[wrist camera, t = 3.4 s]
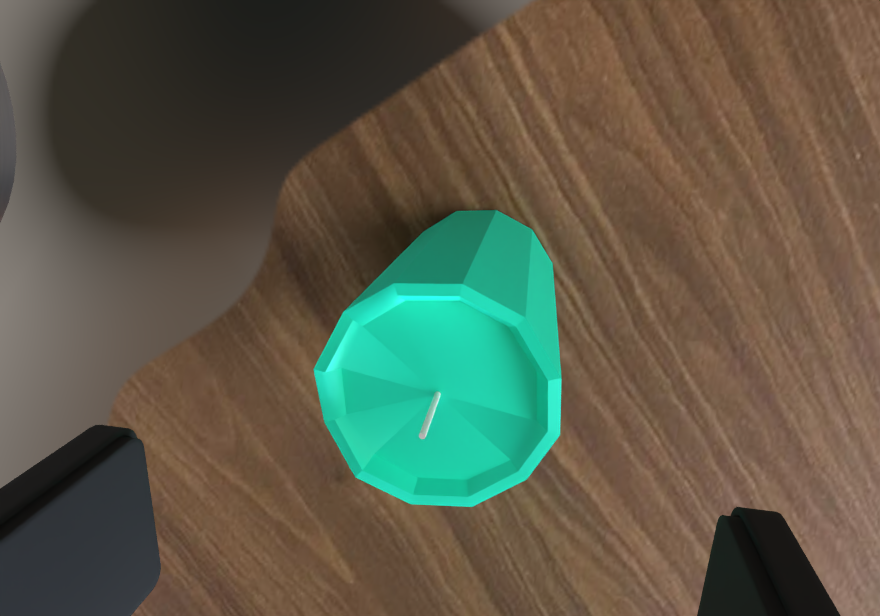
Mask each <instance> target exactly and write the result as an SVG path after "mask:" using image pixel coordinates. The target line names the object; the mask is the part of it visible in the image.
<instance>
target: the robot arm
mask: <svg viewBox="0 0 880 616" xmlns="http://www.w3.org/2000/svg"><path fill="white" fill-rule="evenodd" d="M160 570H161V564H160V557H159V550H158V543H157V536H156V529H155V522H154V514H153V507H152V500H151V493H150V486H149V479H148V472H147V465H146V458H145V451H144V446H143V443H142V441H141V440H140V439H138V438H137V436H136V434H135V433H134V431H133V430H131V429H129V428H121V427H113V426H105V425H95V426H93V427H91V428H89V429H87V430H86V431H85V432H83V433H82V434H80V435H79V436H77V437H76V438H74V439H73V440H71V441H70V442H68V443H67V444H66V445H64V446H62V447H61V448H59V449H58V450H57V451H55V452H54V453H52V454H51V455H49V456H48V457H46V458H45V459H43V460H42V461H40V462H39V463H37V464H36V465H34V466H33V467H31V468H30V469H29V470H27V471H26V472H24V473H23V474H21V475H20V476H18V477H17V478H15V479H14V480H12V481H11V482H9V483H8V484H6V485H5V486H3V487H2V488H1V489H0V616H131V615H132V614H133V612H134V611H135V610H136V609H137V608H138V606H139V605H140V604H141V603H142V602H143V601H144V599H145V598H146V597H147V596H148V595H149V593H150V592H151V591H152V590H153V588H154V587H155V585H156V583H157V581H158V578H159V575H160ZM697 616H840V614H839V612H838V611H837V609H836V607H835V605H834V604H833V602H832V600H831V599H830V597H829V595H828V593H827V592H826V590H825V588H824V586H823V585H822V583H821V581H820V580H819V578H818V576H817V574H816V573H815V571H814V569H813V567H812V566H811V564H810V562H809V561H808V559H807V557H806V555H805V554H804V552H803V550H802V549H801V547H800V545H799V543H798V542H797V540H796V538H795V536H794V535H793V533H792V531H791V530H790V528H789V526H788V524H787V523H786V521H785V519H784V518H783V516H782V515H781V514H780V513H778V512H773V511H765V510H757V509H749V508H742V507H736V508H734V510H733V511H732V513H731V516H724V515H722V516H720V517H719V519H718V522H717V526H716V531H715V535H714V540H713V545H712V549H711V554H710V559H709V563H708V568H707V573H706V577H705V582H704V587H703V592H702V596H701V601H700V606H699V610H698V615H697Z"/></svg>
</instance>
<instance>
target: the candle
mask: <svg viewBox="0 0 880 616" xmlns="http://www.w3.org/2000/svg"><path fill="white" fill-rule="evenodd" d="M314 374H315V379H316V384H317V389H318V393H319V398H320V403H321V408H322V413H323V418H324V422H325V424H326V426H327V428H328V430H329V431H330V433H331V435H332V437H333V438H334V440H335V442H336V444H337V446H338V447H339V449H340V451H341V453H342V454H343V456H344V458H345V460H346V462H347V463H348V465H349V467H350V469H351V471H352V472H353V474H354V476H355V477H356V478H358V479H360V480H362V481H364V482H366V483H368V484H370V485H372V486H374V487H376V488H378V489H380V490H382V491H384V492H387V493H389V494H391V495H393V496H395V497H397V498H399V499H401V500H403V501H405V502H407V503H409V504H418V505H441V506H464V507H473V506H475V505H477V504H479V503H481V502H483V501H485V500H487V499H489V498H491V497H493V496H495V495H497V494H499V493H501V492H503V491H505V490H507V489H509V488H511V487H513V486H515V485H517V484H519V483H521V482H523V481H525V480H527V478H528V477H529V476H530V474H531V473H532V472H533V470H534V469H535V468H536V466H537V465H538V464H539V462H540V461H541V460H542V458H543V457H544V456H545V454H546V453H547V452H548V450H549V449H550V448H551V446H552V445H553V444H554V442H555V441H556V440H557V438H558V437H559V436H560V418H561V367H560V354H559V341H558V328H557V315H556V302H555V288H554V275H553V263H552V262H551V260H550V258H549V257H548V255H547V253H546V252H545V250H544V248H543V247H542V245H541V243H540V242H539V240H538V238H537V237H536V235H535V233H534V232H533V230H532V229H530V228H529V227H527V226H525V225H523V224H521V223H519V222H518V221H516V220H514V219H512V218H510V217H508V216H507V215H505V214H503V213H501V212H499V211H497V210H477V211H456V212H454V213H452V214H451V215H449V216H448V217H446V218H444V219H443V220H441V221H440V222H438V223H436V224H435V225H433V226H432V227H430V228H428V229H427V230H425V231H423V232H422V233H421V234H420V235H419V236H418V237H417V238H416V239H415V240H414V241H413V242H412V243H411V244H410V245H409V246H408V247H407V248H406V249H405V250H404V251H403V252H402V253H401V254H400V255H399V256H398V257H397V258H396V259H395V261H394V262H393V263H392V264H391V265H390V266H389V267H388V268H387V269H386V270H385V271H384V272H383V273H382V274H381V275H380V276H379V277H378V278H377V279H376V280H375V281H374V282H373V283H372V284H371V285H370V286H369V287H368V288H367V289H366V290H365V291H364V292H363V293H362V294H361V295H360V296H359V297H358V298H357V299H356V300H355V301H354V302H353V303H352V304H351V305H350V306H349V307H348V308H347V309H346V310H345V311H344V312H343V314H342V316H341V317H340V319H339V321H338V323H337V325H336V327H335V329H334V331H333V333H332V335H331V337H330V339H329V341H328V342H327V344H326V346H325V348H324V350H323V352H322V354H321V356H320V358H319V360H318V362H317V364H316V366H315V367H314Z"/></svg>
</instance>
